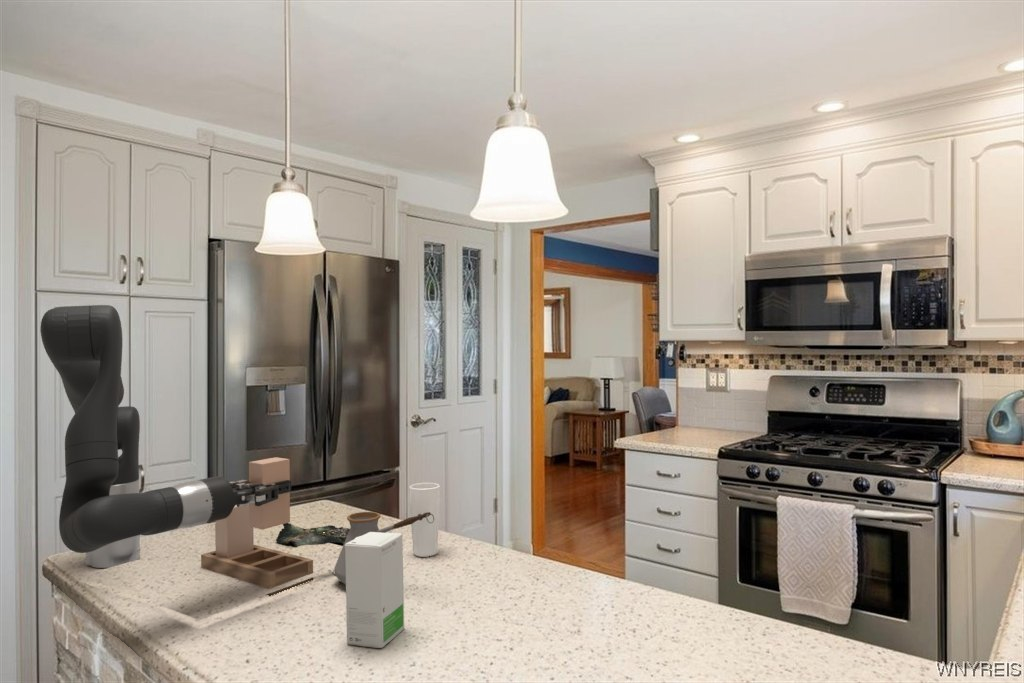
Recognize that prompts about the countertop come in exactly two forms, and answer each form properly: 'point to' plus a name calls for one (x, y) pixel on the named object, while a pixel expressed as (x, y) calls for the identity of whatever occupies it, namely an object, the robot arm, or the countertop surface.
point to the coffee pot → (366, 524)
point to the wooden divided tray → (261, 567)
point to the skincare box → (374, 589)
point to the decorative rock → (311, 535)
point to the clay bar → (276, 509)
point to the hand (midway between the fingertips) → (281, 484)
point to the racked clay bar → (234, 534)
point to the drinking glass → (423, 532)
